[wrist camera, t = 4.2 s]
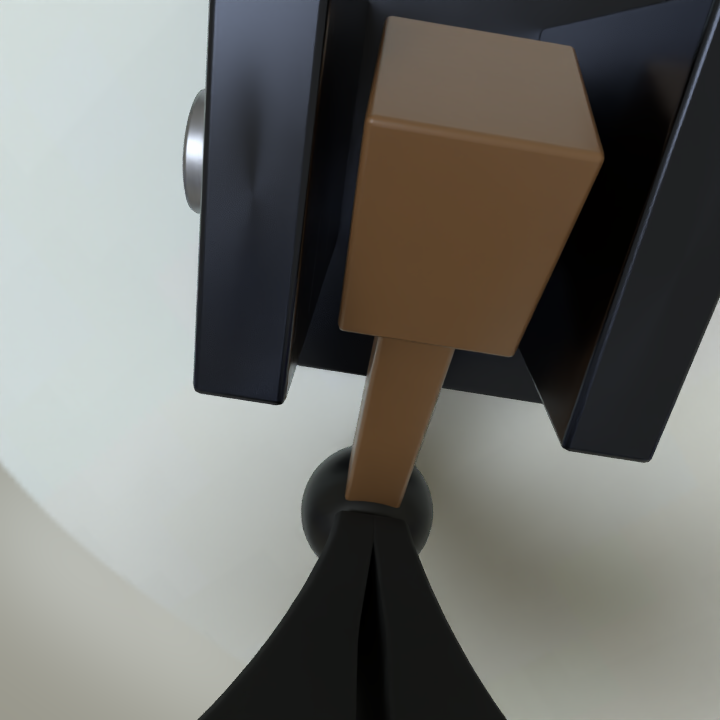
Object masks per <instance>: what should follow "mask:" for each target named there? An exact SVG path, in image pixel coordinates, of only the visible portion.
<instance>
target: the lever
mask: <svg viewBox="0 0 720 720" xmlns="http://www.w3.org/2000/svg"><path fill="white" fill-rule="evenodd" d="M603 162H604V151H603V148H602V144H601V141H600V137H599V134H598V130H597V126H596V123H595V119H594V116H593V112H592V109H591V105H590V102H589V98H588V95H587V91H586V88H585V84H584V80H583V77H582V73H581V70H580V66H579V63H578V59H577V56H576V52H575V49H574V48H572V47H571V46H567V45H561V44H555V43H549V42H543V41H538V40H532V39H526V38H520V37H514V36H508V35H502V34H496V33H490V32H484V31H478V30H473V29H467V28H461V27H455V26H449V25H443V24H437V23H431V22H425V21H419V20H413V19H407V18H402V17H396V16H390V17H387V18H386V20H385V22H384V26H383V31H382V35H381V40H380V45H379V50H378V55H377V60H376V65H375V70H374V75H373V80H372V85H371V90H370V95H369V100H368V105H367V110H366V115H365V120H364V127H363V135H362V143H361V150H360V158H359V165H358V173H357V181H356V188H355V196H354V204H353V211H352V219H351V226H350V234H349V242H348V249H347V257H346V264H345V272H344V280H343V287H342V295H341V302H340V310H339V318H338V326H339V329H340V330H342V331H346V332H353V333H359V334H365V335H371V336H374V341H373V346H372V351H371V356H370V361H369V366H368V371H367V376H366V381H365V386H364V391H363V396H362V401H361V406H360V411H359V416H358V421H357V426H356V431H355V436H354V441H353V446H350V447H347V448H344V449H342V450H339V451H337V452H336V453H334V454H332V455H331V456H329V457H328V458H327V459H326V460H324V461H323V462H322V463H321V464H320V465H319V466H318V468H317V469H316V470H315V471H314V472H313V474H312V476H311V477H310V479H309V481H308V483H307V485H306V488H305V491H304V495H303V499H302V506H301V517H302V525H303V530H304V533H305V536H306V539H307V541H308V543H309V545H310V547H311V548H312V550H313V551H314V553H315V554H316V555H317V557H318V558H319V557H320V555H321V553H322V550H323V548H324V546H325V544H326V542H327V539H328V537H329V534H330V531H331V528H332V525H333V522H334V516H335V514H336V513H338V512H339V511H341V510H344V511H350V512H357V513H364V514H370V515H377V516H383V517H390V518H396V519H403V520H405V522H406V523H407V524H408V525H409V529H410V533H411V536H412V539H413V542H414V545H415V548H416V551H417V553H418V554H419V553H420V552H421V550H422V549H423V547H424V545H425V544H426V541H427V539H428V537H429V534H430V530H431V526H432V519H433V504H432V499H431V494H430V491H429V488H428V485H427V483H426V481H425V479H424V477H423V476H422V474H421V473H420V471H419V470H418V469H417V467H416V466H415V462H416V459H417V457H418V454H419V451H420V448H421V445H422V442H423V439H424V437H425V434H426V431H427V428H428V425H429V422H430V420H431V417H432V414H433V411H434V408H435V405H436V402H437V400H438V397H439V394H440V391H441V388H442V385H443V382H444V380H445V377H446V374H447V371H448V368H449V365H450V362H451V360H452V357H453V354H454V351H455V349H460V350H466V351H472V352H479V353H485V354H491V355H498V356H504V357H512V356H513V355H514V354H515V352H516V350H517V348H518V346H519V344H520V342H521V339H522V337H523V335H524V333H525V331H526V329H527V326H528V324H529V322H530V320H531V318H532V316H533V313H534V311H535V309H536V307H537V305H538V303H539V300H540V298H541V296H542V294H543V292H544V290H545V288H546V285H547V283H548V281H549V279H550V277H551V275H552V272H553V270H554V268H555V266H556V264H557V262H558V259H559V257H560V255H561V253H562V251H563V249H564V246H565V244H566V242H567V240H568V238H569V236H570V234H571V231H572V229H573V227H574V225H575V223H576V221H577V218H578V216H579V214H580V212H581V210H582V208H583V205H584V203H585V201H586V199H587V197H588V195H589V192H590V190H591V188H592V186H593V184H594V182H595V179H596V177H597V175H598V173H599V171H600V169H601V167H602V164H603Z"/></svg>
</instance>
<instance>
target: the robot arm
mask: <svg viewBox="0 0 720 720" xmlns="http://www.w3.org/2000/svg"><path fill="white" fill-rule="evenodd" d="M198 720H507V719H506V718H505V717H504V715H503V714H502V712H501V711H500V709H499V708H498V706H497V705H496V703H495V702H494V701H493V699H492V698H491V696H490V694H489V693H488V691H487V690H486V688H485V687H484V685H483V684H482V682H481V680H480V679H479V677H478V676H477V674H476V672H475V671H474V669H473V667H472V666H471V664H470V662H469V660H468V659H467V657H466V655H465V654H464V652H463V650H462V648H461V646H460V644H459V643H458V641H457V639H456V637H455V635H454V633H453V631H452V630H451V628H450V626H449V624H448V622H447V620H446V618H445V616H444V614H443V612H442V609H441V607H440V605H439V603H438V601H437V599H436V597H435V594H434V592H433V590H432V588H431V586H430V583H429V581H428V579H427V576H426V574H425V571H424V569H423V566H422V564H421V561H420V559H419V556H418V553H417V551H416V548H415V545H414V542H413V539H412V536H411V533H410V529H409V525H408V524H407V523H406V522H405V520H403V519H396V518H390V517H383V516H377V515H370V514H364V513H357V512H350V511H344V510H341V511H339V512H338V513H336V514H335V516H334V522H333V525H332V528H331V531H330V534H329V537H328V539H327V542H326V544H325V546H324V548H323V550H322V553H321V555H320V557H319V559H318V561H317V563H316V564H315V566H314V568H313V570H312V572H311V574H310V575H309V577H308V579H307V581H306V583H305V584H304V586H303V588H302V589H301V591H300V593H299V594H298V596H297V597H296V599H295V600H294V602H293V603H292V605H291V607H290V608H289V610H288V611H287V613H286V614H285V616H284V617H283V619H282V620H281V622H280V623H279V625H278V626H277V627H276V629H275V630H274V632H273V633H272V634H271V636H270V637H269V638H268V640H267V641H266V642H265V644H264V645H263V646H262V647H261V649H260V650H259V651H258V653H257V654H256V655H255V656H254V658H253V659H252V660H251V661H250V663H249V664H248V665H247V666H246V667H245V668H244V670H243V671H242V672H241V673H240V674H239V676H238V677H237V678H236V679H235V680H234V681H233V682H232V684H231V685H230V686H229V687H228V688H227V689H226V691H225V692H224V693H223V694H222V695H221V696H220V697H219V698H218V699H217V700H216V701H215V703H214V704H213V705H212V706H211V707H210V708H209V709H208V710H207V711H206V712H205V713H204V714H203V715H202V716H201V717H200V718H199V719H198Z"/></svg>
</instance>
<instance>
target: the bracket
mask: <svg viewBox="0 0 720 720" xmlns="http://www.w3.org/2000/svg"><path fill="white" fill-rule="evenodd" d="M390 16H396V17H402V18H407V19H413V20H419V21H425V22H431V23H437V24H443V25H449V26H455V27H461V28H467V29H473V30H478V31H484V32H490V33H496V34H502V35H508V36H514V37H520V38H526V39H532V40H538V41H543V42H549V43H555V44H561V45H567V46H571V47H572V48H574V49H575V52H576V56H577V59H578V63H579V66H580V70H581V73H582V77H583V80H584V84H585V88H586V91H587V95H588V98H589V102H590V105H591V109H592V112H593V116H594V119H595V123H596V126H597V130H598V134H599V137H600V141H601V144H602V148H603V151H604V162H603V164H602V167H601V169H600V171H599V173H598V175H597V177H596V179H595V182H594V184H593V186H592V188H591V190H590V192H589V195H588V197H587V199H586V201H585V203H584V205H583V208H582V210H581V212H580V214H579V216H578V218H577V221H576V223H575V225H574V227H573V229H572V231H571V234H570V236H569V238H568V240H567V242H566V244H565V246H564V249H563V251H562V253H561V255H560V257H559V259H558V262H557V264H556V266H555V268H554V270H553V272H552V275H551V277H550V279H549V281H548V283H547V285H546V288H545V290H544V292H543V294H542V296H541V298H540V300H539V303H538V305H537V307H536V309H535V311H534V313H533V316H532V318H531V320H530V322H529V324H528V326H527V329H526V331H525V333H524V335H523V337H522V339H521V342H520V344H519V346H518V348H517V350H516V352H515V354H514V355H513V356H512V357H504V356H498V355H491V354H485V353H479V352H472V351H466V350H460V349H455V351H454V354H453V357H452V360H451V362H450V365H449V368H448V371H447V374H446V377H445V380H444V382H443V385H442V388H446V389H452V390H458V391H465V392H471V393H477V394H484V395H490V396H496V397H503V398H509V399H516V400H522V401H528V402H535V403H541V404H543V405H544V407H545V410H546V412H547V414H548V416H549V419H550V421H551V423H552V425H553V428H554V430H555V432H556V435H557V437H558V439H559V441H560V444H561V446H562V447H563V448H564V449H566V450H568V451H572V452H579V453H585V454H591V455H598V456H604V457H611V458H617V459H623V460H630V461H636V462H643V463H645V462H649V461H650V460H651V459H652V457H653V455H654V452H655V450H656V447H657V445H658V443H659V440H660V438H661V436H662V433H663V431H664V428H665V426H666V424H667V421H668V419H669V417H670V414H671V412H672V409H673V407H674V405H675V402H676V400H677V397H678V395H679V393H680V390H681V388H682V386H683V383H684V381H685V378H686V376H687V374H688V371H689V369H690V367H691V364H692V362H693V359H694V357H695V355H696V352H697V350H698V348H699V345H700V343H701V340H702V338H703V336H704V333H705V331H706V329H707V326H708V324H709V321H710V319H711V317H712V314H713V312H714V310H715V307H716V305H717V302H718V300H719V298H720V0H209V14H208V38H207V62H206V87H205V89H203V90H201V91H200V92H199V93H198V94H197V96H196V97H195V99H194V102H193V104H192V107H191V110H190V113H189V117H188V121H187V125H186V131H185V138H184V147H183V182H184V189H185V194H186V199H187V202H188V205H189V207H190V208H191V209H192V210H193V211H194V212H196V213H198V214H200V231H199V255H198V279H197V303H196V328H195V352H194V376H193V385H194V389H195V391H196V392H198V393H201V394H207V395H214V396H220V397H227V398H233V399H240V400H246V401H252V402H259V403H265V404H272V405H280V404H282V403H283V402H284V401H285V399H286V397H287V394H288V391H289V387H290V384H291V381H292V378H293V375H294V372H295V369H296V366H297V365H299V366H306V367H312V368H318V369H325V370H331V371H338V372H344V373H350V374H357V375H363V376H367V371H368V366H369V361H370V356H371V351H372V346H373V341H374V336H371V335H365V334H359V333H353V332H346V331H342V330H340V329H339V326H338V318H339V310H340V302H341V295H342V287H343V280H344V272H345V264H346V257H347V249H348V242H349V234H350V226H351V219H352V211H353V204H354V196H355V188H356V181H357V173H358V165H359V158H360V150H361V143H362V135H363V127H364V120H365V115H366V110H367V105H368V100H369V95H370V90H371V85H372V80H373V75H374V70H375V65H376V60H377V55H378V50H379V45H380V40H381V35H382V31H383V26H384V22H385V20H386V18H387V17H390Z"/></svg>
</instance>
